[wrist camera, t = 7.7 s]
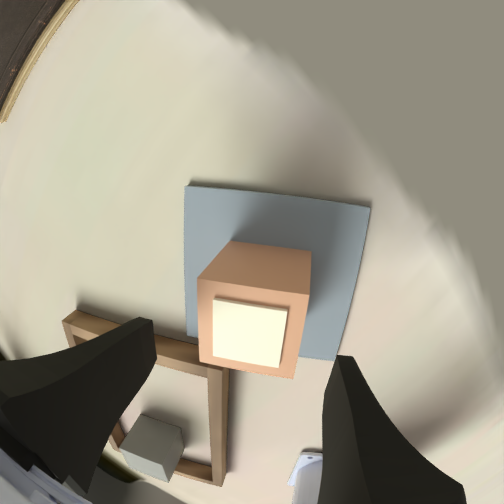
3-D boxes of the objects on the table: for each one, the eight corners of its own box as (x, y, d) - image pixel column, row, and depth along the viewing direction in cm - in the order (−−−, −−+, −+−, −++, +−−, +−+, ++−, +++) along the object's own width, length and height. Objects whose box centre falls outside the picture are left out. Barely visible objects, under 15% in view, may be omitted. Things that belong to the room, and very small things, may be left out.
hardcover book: (9, 125, 18) (-9, 127, 16) (-29, 38, 15) (-41, 37, 13) (109, -26, 12) (92, -36, 10) (37, -62, 9) (26, -66, 7)
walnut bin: (230, 352, 20) (222, 370, 18) (226, 473, 27) (221, 487, 25) (75, 309, 22) (61, 320, 20) (120, 438, 29) (113, 449, 27)
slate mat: (369, 206, 15) (370, 208, 14) (334, 357, 18) (334, 361, 18) (187, 185, 16) (184, 186, 16) (189, 332, 20) (186, 335, 19)
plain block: (180, 427, 25) (161, 465, 20) (184, 448, 26) (168, 482, 22) (140, 413, 25) (119, 447, 21) (147, 435, 27) (129, 467, 22)
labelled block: (311, 251, 16) (309, 297, 11) (300, 321, 17) (292, 381, 13) (229, 240, 16) (194, 280, 12) (227, 310, 18) (198, 364, 13)
